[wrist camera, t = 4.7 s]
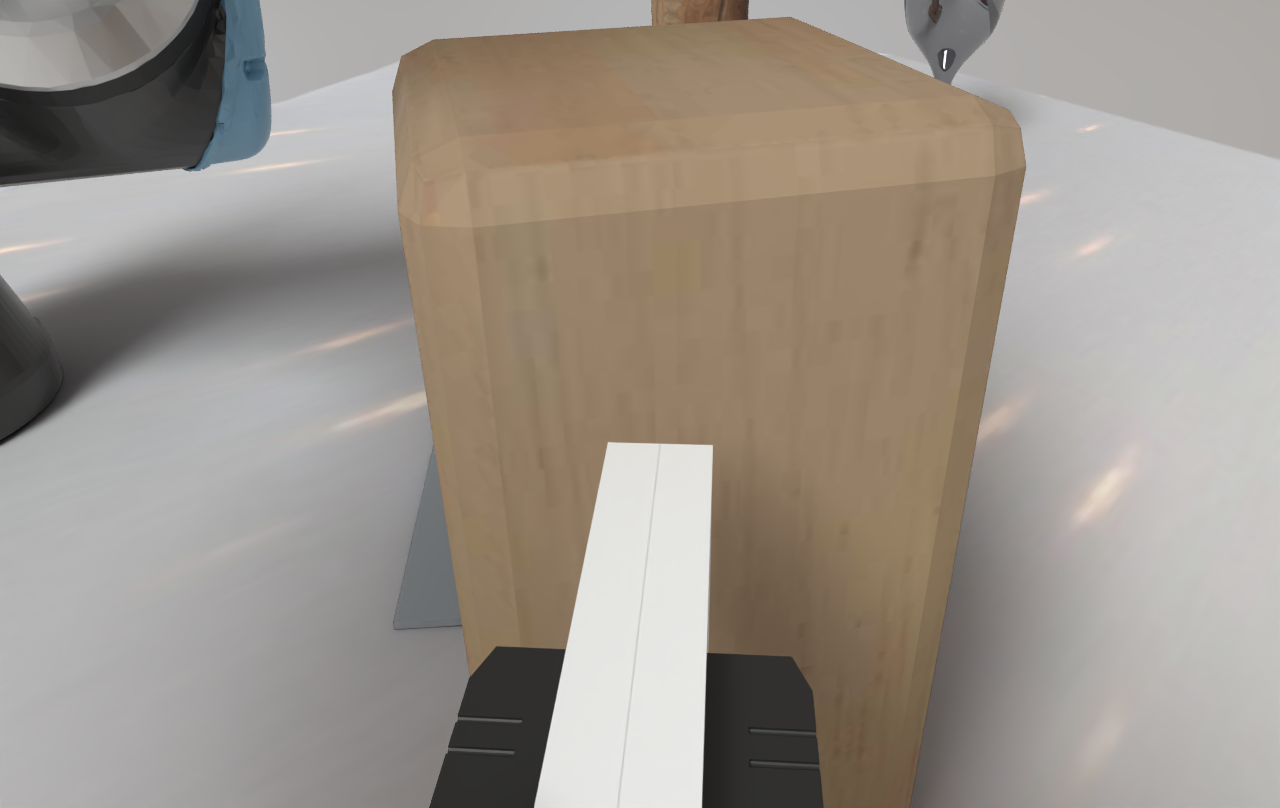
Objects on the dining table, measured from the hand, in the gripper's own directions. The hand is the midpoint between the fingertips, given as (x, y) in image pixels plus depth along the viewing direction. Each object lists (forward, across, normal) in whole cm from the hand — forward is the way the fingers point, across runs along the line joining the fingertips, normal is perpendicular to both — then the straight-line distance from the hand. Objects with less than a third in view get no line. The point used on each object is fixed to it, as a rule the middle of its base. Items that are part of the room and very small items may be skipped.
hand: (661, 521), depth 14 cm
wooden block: (+7, 0, -15) cm, 17 cm away
